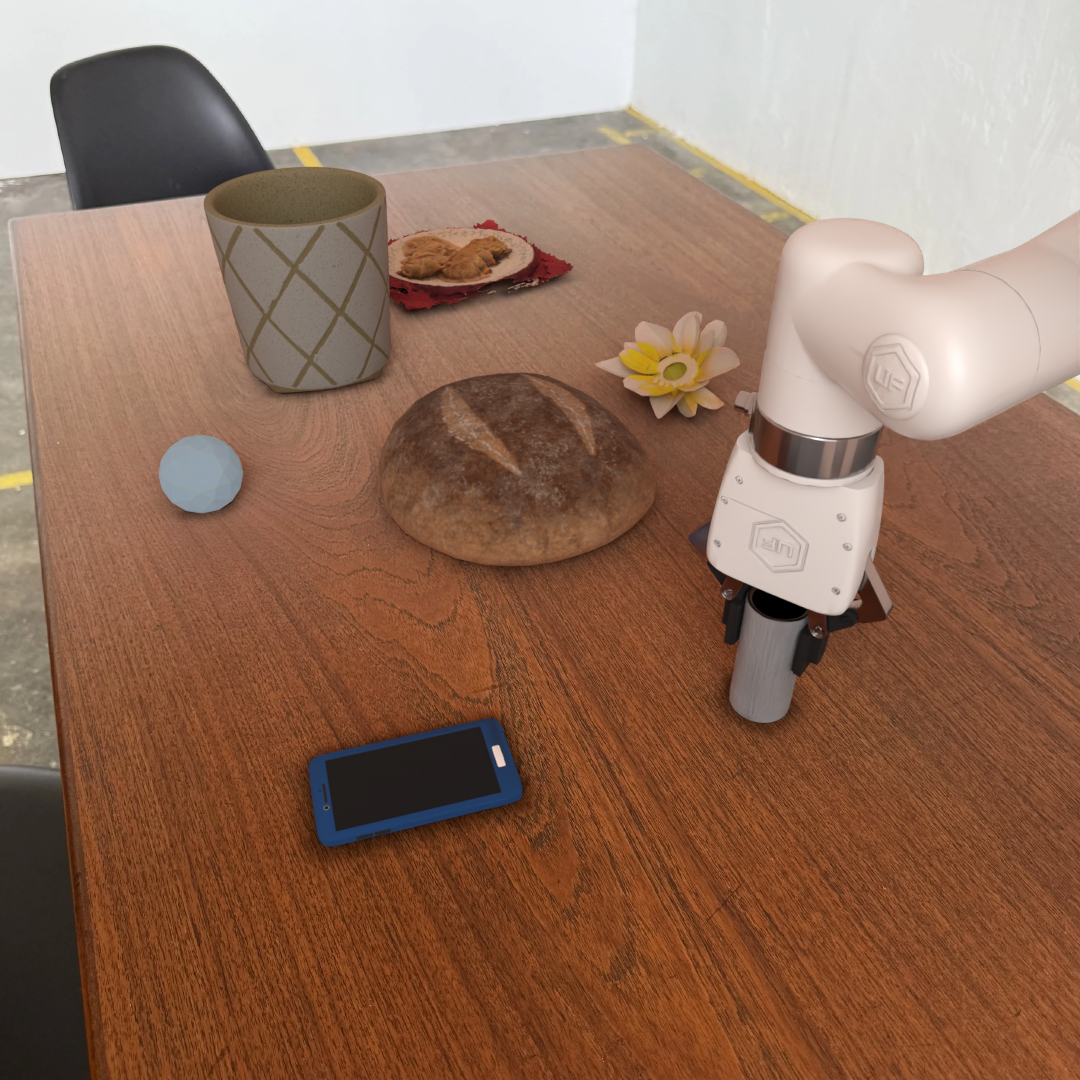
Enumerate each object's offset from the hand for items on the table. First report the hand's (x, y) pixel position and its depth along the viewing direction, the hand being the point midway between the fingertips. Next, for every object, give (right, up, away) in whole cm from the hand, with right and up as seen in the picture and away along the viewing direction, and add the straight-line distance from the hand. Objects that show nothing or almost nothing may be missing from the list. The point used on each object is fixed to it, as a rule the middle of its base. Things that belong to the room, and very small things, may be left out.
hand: (770, 646), depth 70 cm
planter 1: (-43, +29, +46) cm, 69 cm away
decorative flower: (-3, +24, +40) cm, 47 cm away
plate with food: (-29, +46, +68) cm, 87 cm away
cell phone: (-25, -9, -3) cm, 27 cm away
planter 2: (0, -5, +4) cm, 6 cm away
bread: (-19, +12, +25) cm, 34 cm away
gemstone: (-49, +12, +24) cm, 56 cm away
